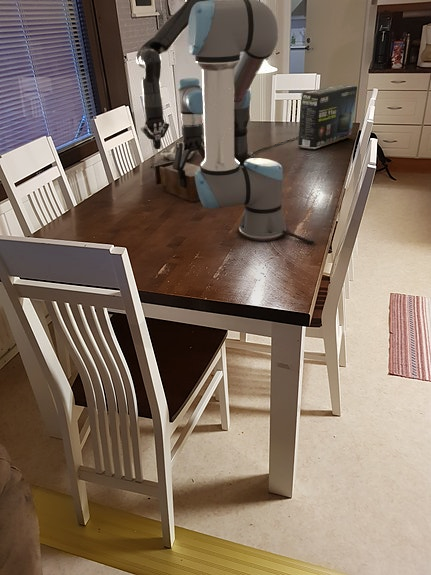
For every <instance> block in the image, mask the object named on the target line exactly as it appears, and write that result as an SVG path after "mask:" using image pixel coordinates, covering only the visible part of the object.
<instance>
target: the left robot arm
mask: <svg viewBox="0 0 431 575" xmlns="http://www.w3.org/2000/svg"><path fill="white" fill-rule="evenodd" d="M183 1H184V3H183V4H182V6H181V7H179V9H177V11H175V12H174V13H173V14H172V15H171V16H170V17H169V18H168V19H166V21H164V23H162V24H161V26H160V28H159V29H158V30H157V31H156V32H155V34H154V35H153V36H152V37H151V38H150V39H148V40H147V41H146V42H145V43H144V44H143V45H142V46H141V47H140V48H139V49H138V51H137V53H136V56H135V61H136V63H137V66H138V67H140V68H141V69H144V76H143V77H141V90H142V104H143V113H144V118H145V122H144V126H142V127H140V131H141V132H142V133H143V134H144V136H146V138H147V139H149V140H152V146H153V148H154V149H155V150H161V147H162V142H161V140H162V138H164V137H165V136H166V134H167V132H168V129H169V127H170V123H167V122H166V121H165V119H164V105H163V104H164V103H163V96H162V89H161V81H160V80H161V75H162V74H161V72H162V57H161V54H163V53H167V51H168V50H169V49H170V48H171V47H172V46H173V45H174V43H175V42H176V41H177V39H178V38H179V37H180V36H181V34H182V33H183V32H184V31H185V30H186V28H188V23H189V17H190V13H191V9H192V7H193V6H194V4H196V3H197V2H201V1H208V0H183ZM250 106H251V104H250V105H249V106H248V107H247V108H243V109H239V110H236V109H235V110H234V157H235V158H236V159H237V160H238V161H239V164H240V166H244V163H245V160H247V159H250V157H251V158H254V155H253V154H255V153H258V152H260V151H263V150H265V149H267V148H266V146H263V147H261V148H258V149H256V150H254V151H251V153H249V150H248V149H249V144H248V125H249V121H250V110H251V109H250V108H251V107H250Z"/></svg>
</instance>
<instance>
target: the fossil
mask: <svg viewBox="0 0 431 575" xmlns="http://www.w3.org/2000/svg"><path fill="white" fill-rule="evenodd" d="M183 149H184V148H183ZM187 151H188V150H187ZM175 153H176V144H175V145H174V146H173V147H172V148H171V149H170V150H168V149H165V150H162V151H161V152H160V156H161V158H162V159H163V160H169V161H174V158H175ZM182 154H183V152H182ZM197 154H199V152H198V150H197V151H196V150H195V151H193V152H191V154H189V156H188V159H187V161H188V160H190V159H191V158H192V157H193V156H194V155H197Z"/></svg>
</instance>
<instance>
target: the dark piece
mask: <svg viewBox="0 0 431 575" xmlns="http://www.w3.org/2000/svg"><path fill="white" fill-rule="evenodd" d="M173 163H174V160H169V161H167V162H159V163H153V164H150V165H149V168H150V169H151V170H152V169H153V171H154V179H155V180H154V181H155V185H157V186H158V185H162V186H164V187H166V185H165V175H164V167H167V166H171V165H173Z"/></svg>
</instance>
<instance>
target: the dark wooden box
mask: <svg viewBox="0 0 431 575" xmlns="http://www.w3.org/2000/svg"><path fill="white" fill-rule="evenodd" d="M183 170H185V178H186V188H184V187H181V186H180V179H179V178H178V171H177V170H175V169H173V165H171V166H167V167H164V175H165V185H166V186H165V185H164V186H165V192H166V193H168V194H170V195H174V196H176V197H178V198H181V199H183V200H186V201H188V202H190V203H194V202H197V201H200V198H199V195H198V191H197V187H196V182H195V172H196V171H198V170H199V171H200V165H195V164H192V163H189V162H186V164H185V166H184V169H183Z"/></svg>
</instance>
